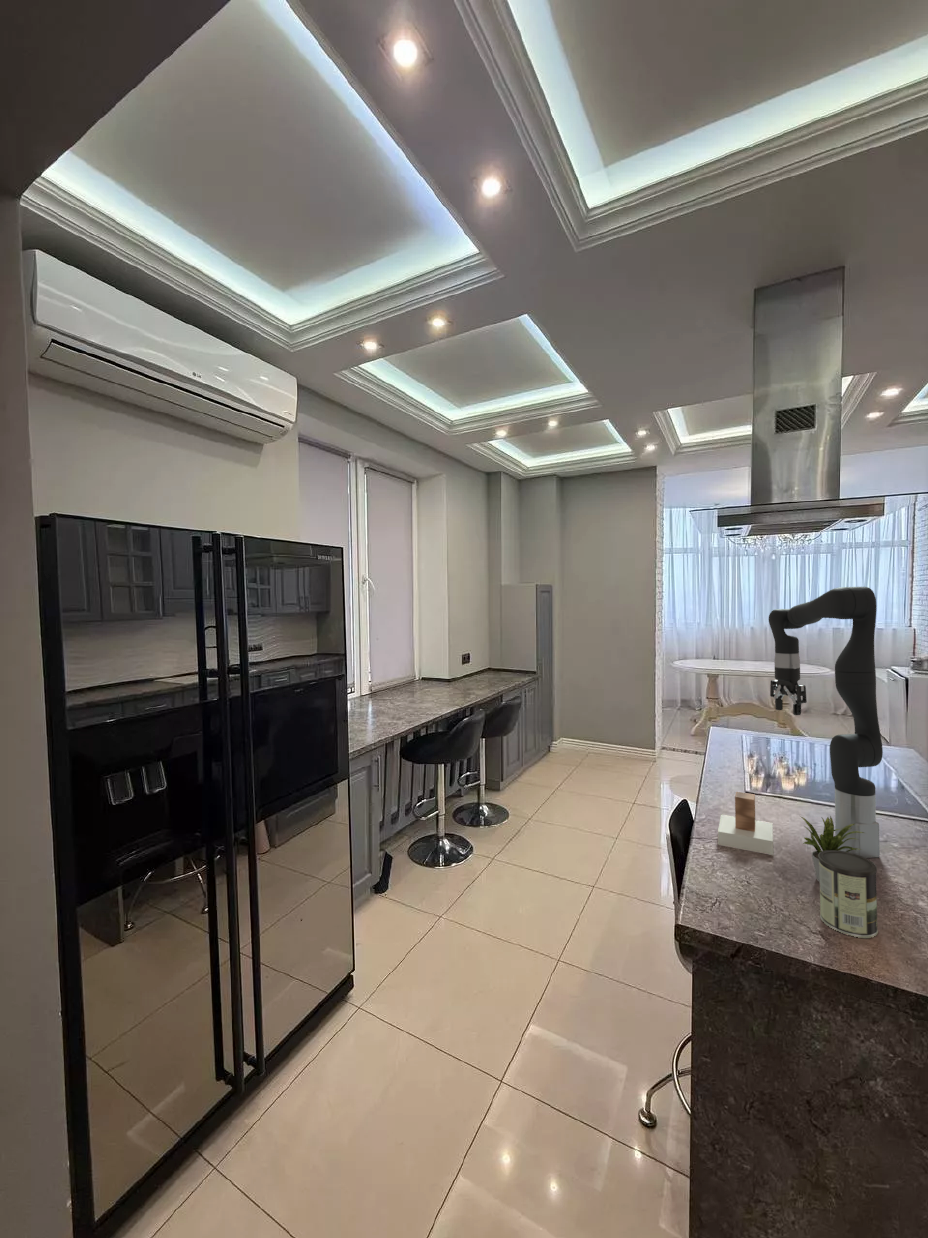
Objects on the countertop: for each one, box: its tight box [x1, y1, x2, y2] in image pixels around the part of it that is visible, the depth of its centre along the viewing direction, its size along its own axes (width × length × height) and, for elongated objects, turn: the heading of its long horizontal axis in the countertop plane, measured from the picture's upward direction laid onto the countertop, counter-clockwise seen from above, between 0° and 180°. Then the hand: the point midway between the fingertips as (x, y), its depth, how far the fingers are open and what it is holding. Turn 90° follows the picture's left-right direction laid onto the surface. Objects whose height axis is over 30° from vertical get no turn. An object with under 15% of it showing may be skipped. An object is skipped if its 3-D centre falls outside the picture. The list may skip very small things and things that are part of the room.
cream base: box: [717, 814, 774, 856], centre depth 152 cm, size 14×14×4 cm
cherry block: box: [734, 791, 756, 832], centre depth 152 cm, size 5×5×10 cm
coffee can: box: [818, 850, 879, 939], centre depth 111 cm, size 10×10×14 cm
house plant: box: [799, 814, 864, 883], centre depth 127 cm, size 14×14×16 cm
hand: (787, 712), depth 176 cm, fingers open, 8 cm apart
